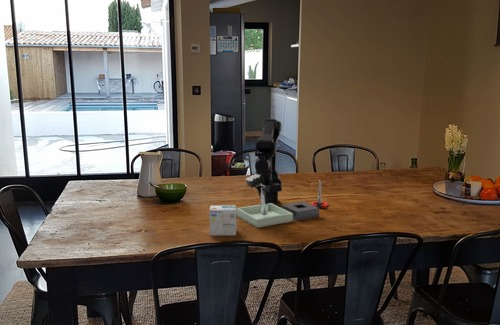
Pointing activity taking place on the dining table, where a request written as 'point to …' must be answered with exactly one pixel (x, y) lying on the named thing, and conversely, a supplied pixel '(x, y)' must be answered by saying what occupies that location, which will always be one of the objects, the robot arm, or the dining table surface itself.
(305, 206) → the hitch block
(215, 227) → the light bulb box
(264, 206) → the pin
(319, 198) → the tow hook
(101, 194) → the dining table surface
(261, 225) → the tray
